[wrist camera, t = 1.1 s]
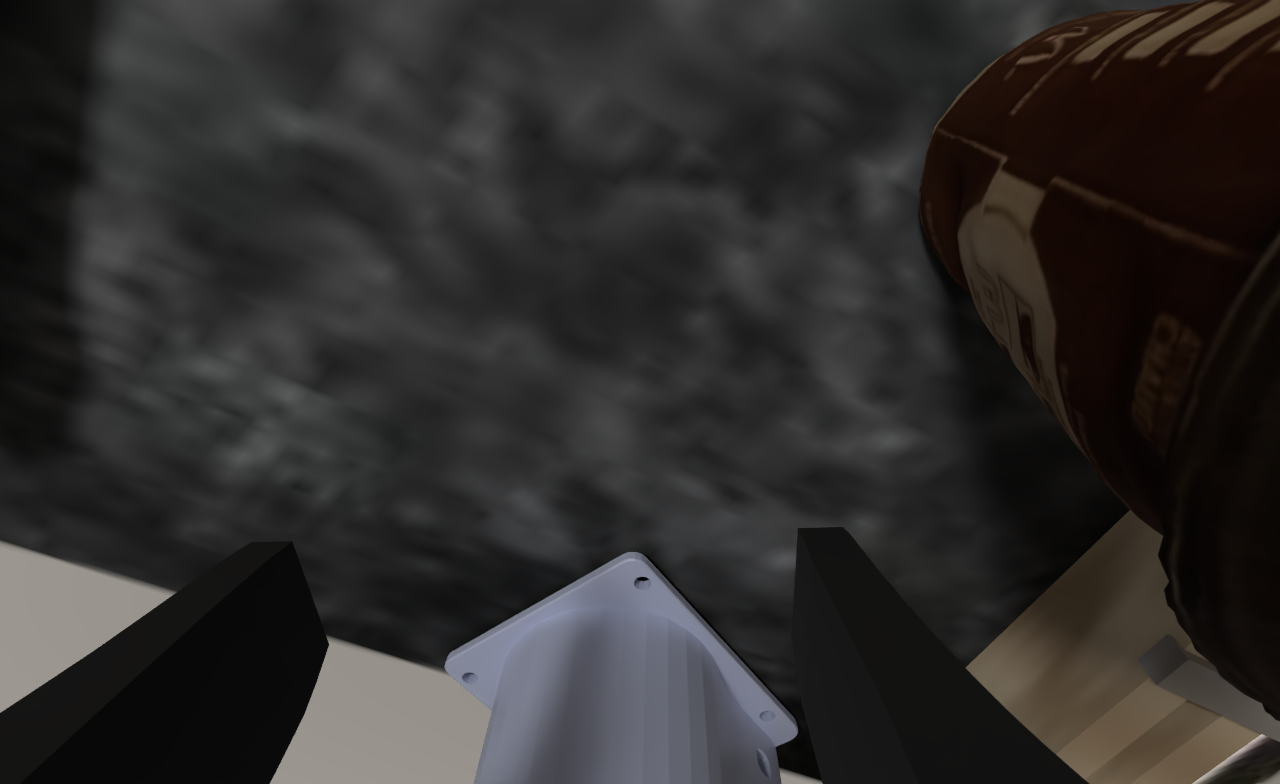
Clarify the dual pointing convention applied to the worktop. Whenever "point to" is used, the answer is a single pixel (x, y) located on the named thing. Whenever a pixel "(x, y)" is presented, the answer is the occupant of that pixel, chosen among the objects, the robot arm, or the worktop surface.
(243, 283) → the worktop surface
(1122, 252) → the coffee cup
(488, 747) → the robot arm
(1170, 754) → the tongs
